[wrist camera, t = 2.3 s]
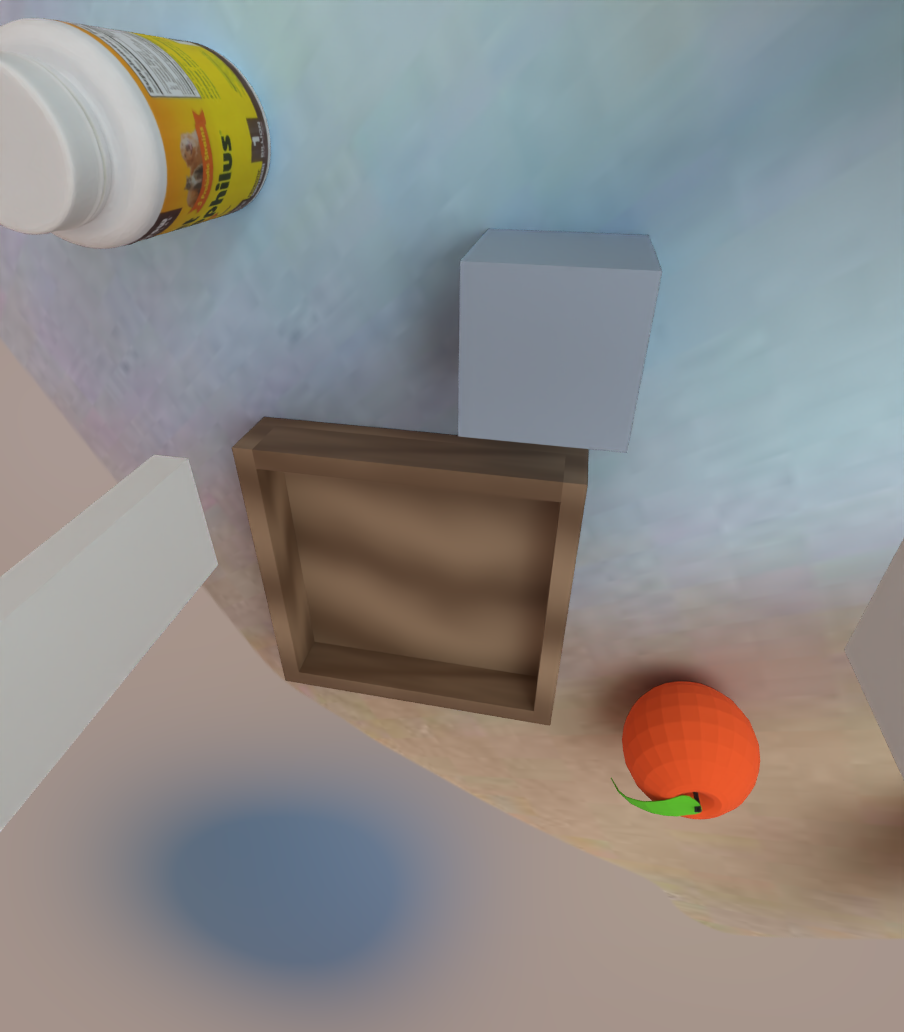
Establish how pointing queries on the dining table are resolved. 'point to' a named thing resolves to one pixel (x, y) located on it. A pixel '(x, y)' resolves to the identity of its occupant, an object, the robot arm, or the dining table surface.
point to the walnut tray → (416, 560)
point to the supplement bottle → (122, 133)
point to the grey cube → (554, 336)
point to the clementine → (690, 751)
